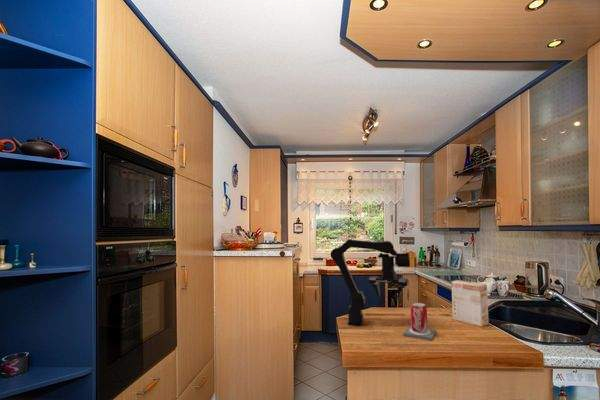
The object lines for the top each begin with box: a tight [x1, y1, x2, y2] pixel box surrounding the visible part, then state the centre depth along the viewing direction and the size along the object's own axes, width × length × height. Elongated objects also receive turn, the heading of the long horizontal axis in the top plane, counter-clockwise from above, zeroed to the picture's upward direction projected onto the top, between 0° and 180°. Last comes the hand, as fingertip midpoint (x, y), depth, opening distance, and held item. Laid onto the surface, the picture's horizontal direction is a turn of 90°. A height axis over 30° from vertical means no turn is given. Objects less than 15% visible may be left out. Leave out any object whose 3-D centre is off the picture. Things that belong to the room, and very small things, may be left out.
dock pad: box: [402, 325, 437, 341], centre depth 152 cm, size 12×12×1 cm
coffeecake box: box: [450, 279, 490, 327], centre depth 169 cm, size 15×7×20 cm, turn 34°
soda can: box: [410, 302, 428, 333], centre depth 152 cm, size 7×7×12 cm
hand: (388, 298), depth 165 cm, fingers open, 9 cm apart
